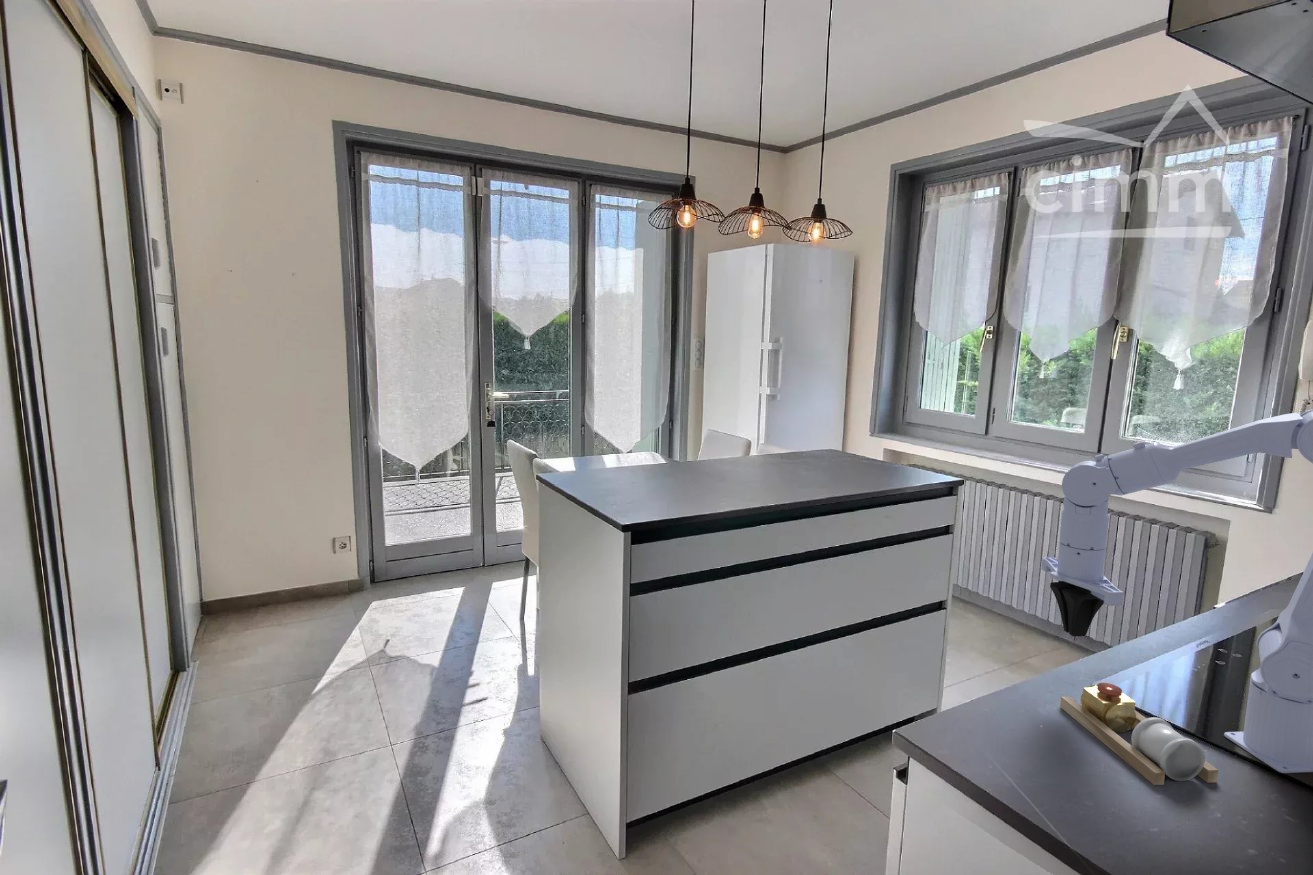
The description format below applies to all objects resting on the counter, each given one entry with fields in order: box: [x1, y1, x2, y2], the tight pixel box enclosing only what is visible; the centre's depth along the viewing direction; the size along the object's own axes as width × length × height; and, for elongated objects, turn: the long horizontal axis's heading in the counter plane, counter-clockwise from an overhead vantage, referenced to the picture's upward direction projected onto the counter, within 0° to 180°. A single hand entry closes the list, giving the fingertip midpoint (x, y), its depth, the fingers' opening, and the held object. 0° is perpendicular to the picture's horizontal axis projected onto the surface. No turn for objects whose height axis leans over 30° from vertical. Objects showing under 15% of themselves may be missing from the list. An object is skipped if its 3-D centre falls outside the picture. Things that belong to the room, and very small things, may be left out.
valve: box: [1080, 682, 1136, 734], centre depth 91 cm, size 5×4×5 cm
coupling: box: [1130, 716, 1206, 782], centre depth 81 cm, size 5×5×5 cm
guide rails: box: [1059, 695, 1219, 786], centre depth 87 cm, size 8×17×2 cm, turn 3°
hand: (1074, 633), depth 98 cm, fingers closed
